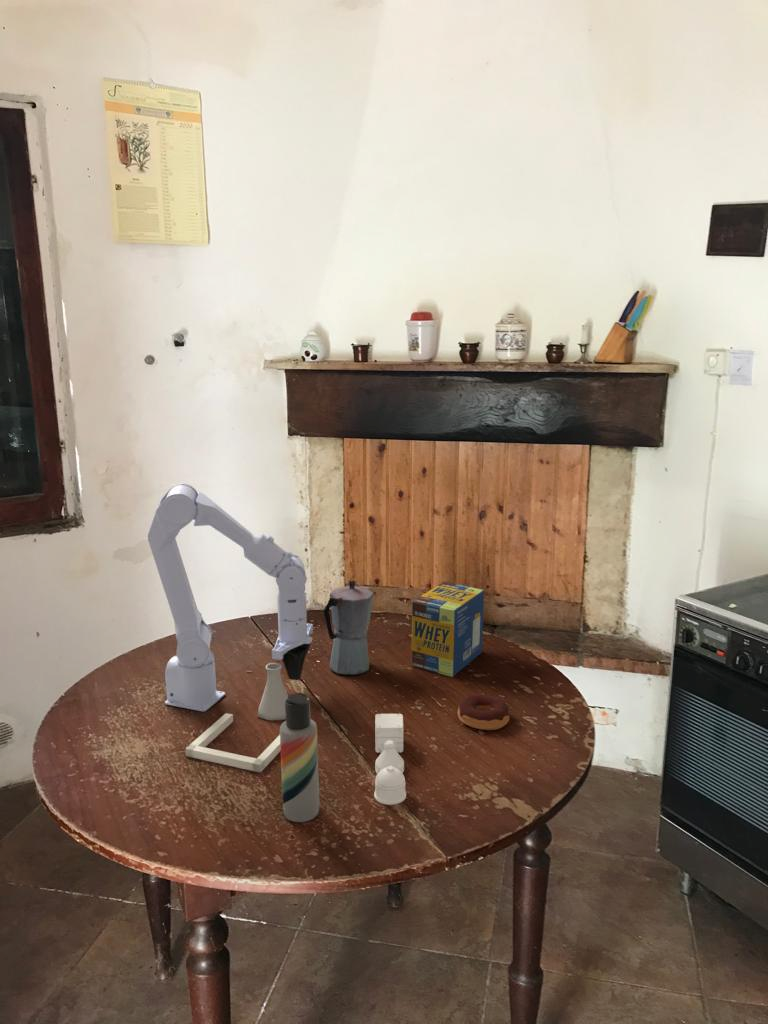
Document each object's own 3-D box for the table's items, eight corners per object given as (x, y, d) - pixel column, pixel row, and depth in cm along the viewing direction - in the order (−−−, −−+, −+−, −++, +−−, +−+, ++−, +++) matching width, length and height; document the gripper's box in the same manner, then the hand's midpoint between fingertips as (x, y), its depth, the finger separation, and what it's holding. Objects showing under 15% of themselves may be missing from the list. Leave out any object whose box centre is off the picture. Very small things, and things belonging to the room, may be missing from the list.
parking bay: (186, 756, 142) (185, 748, 142) (226, 720, 155) (225, 713, 154) (260, 772, 137) (260, 764, 137) (296, 734, 149) (295, 726, 149)
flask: (287, 723, 153) (285, 675, 151) (251, 720, 155) (249, 672, 152) (298, 705, 160) (297, 659, 158) (264, 702, 162) (262, 656, 159)
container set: (374, 740, 148) (374, 713, 146) (403, 740, 148) (403, 713, 146) (374, 806, 128) (373, 775, 127) (406, 805, 128) (406, 775, 127)
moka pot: (386, 660, 180) (386, 576, 175) (347, 687, 167) (345, 597, 162) (351, 651, 185) (350, 569, 180) (310, 676, 172) (308, 589, 167)
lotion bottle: (283, 802, 129) (279, 688, 124) (319, 800, 129) (316, 687, 124) (282, 824, 123) (277, 706, 118) (319, 822, 124) (316, 705, 119)
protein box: (410, 667, 177) (410, 601, 173) (443, 642, 190) (444, 580, 186) (453, 678, 172) (454, 610, 168) (483, 652, 184) (485, 588, 180)
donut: (519, 719, 154) (520, 701, 153) (489, 739, 148) (490, 720, 147) (477, 703, 161) (477, 684, 160) (446, 721, 154) (447, 702, 153)
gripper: (293, 632, 153) (296, 697, 156) (325, 606, 166) (327, 666, 169) (261, 627, 155) (264, 691, 159) (295, 602, 168) (297, 661, 172)
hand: (294, 678), depth 164 cm, fingers closed
